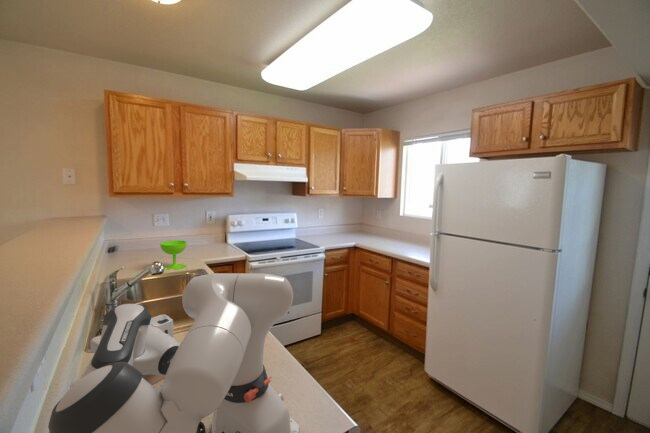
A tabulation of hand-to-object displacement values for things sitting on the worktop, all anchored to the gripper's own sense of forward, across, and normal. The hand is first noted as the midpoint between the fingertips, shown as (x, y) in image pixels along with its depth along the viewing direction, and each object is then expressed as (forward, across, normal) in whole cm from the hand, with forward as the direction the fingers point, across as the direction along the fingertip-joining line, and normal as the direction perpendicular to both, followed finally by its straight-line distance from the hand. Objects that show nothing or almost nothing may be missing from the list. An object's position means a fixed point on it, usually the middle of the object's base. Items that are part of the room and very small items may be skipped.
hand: (123, 325), depth 93 cm
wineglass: (+94, +64, -15) cm, 115 cm away
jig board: (-4, +4, -15) cm, 16 cm away
